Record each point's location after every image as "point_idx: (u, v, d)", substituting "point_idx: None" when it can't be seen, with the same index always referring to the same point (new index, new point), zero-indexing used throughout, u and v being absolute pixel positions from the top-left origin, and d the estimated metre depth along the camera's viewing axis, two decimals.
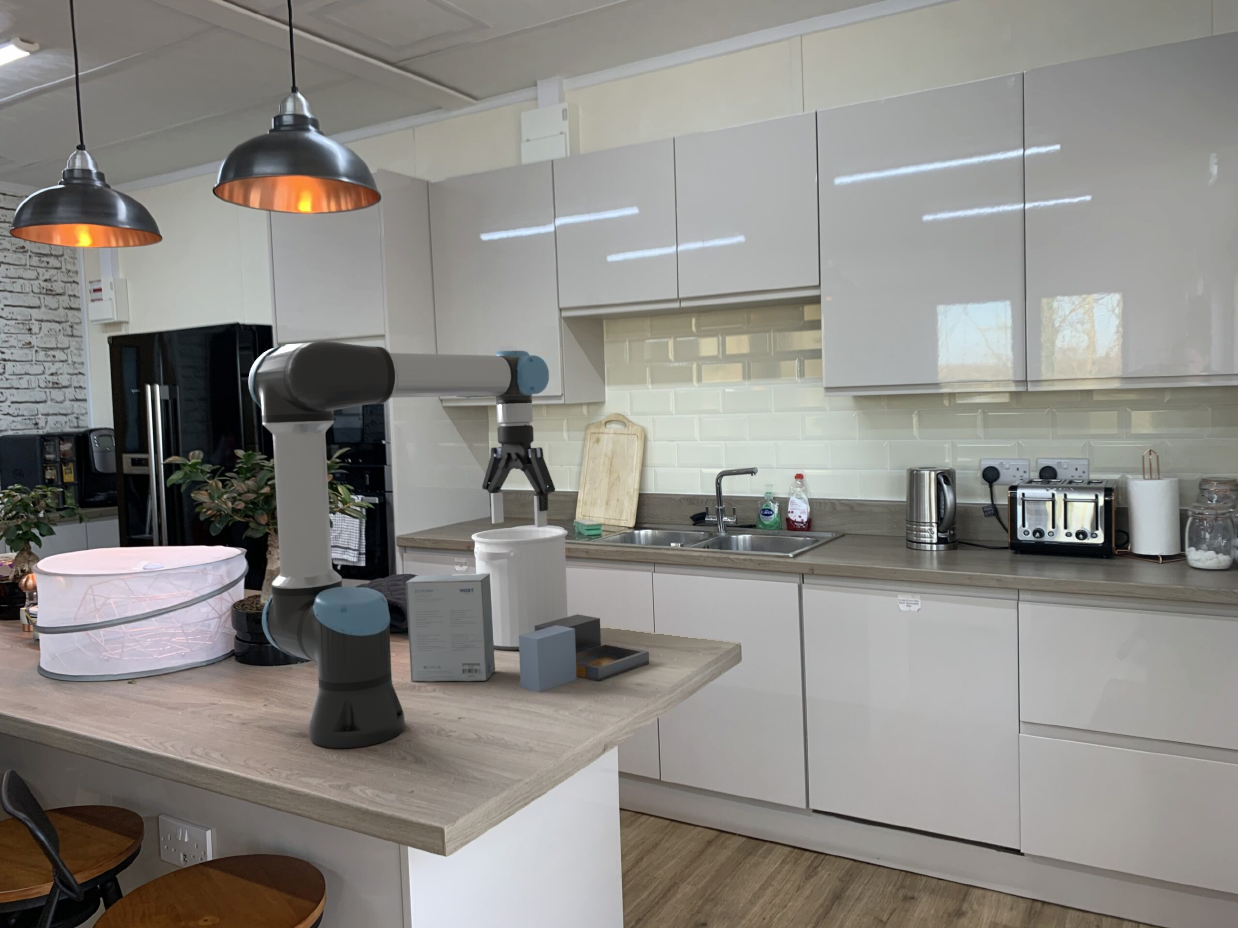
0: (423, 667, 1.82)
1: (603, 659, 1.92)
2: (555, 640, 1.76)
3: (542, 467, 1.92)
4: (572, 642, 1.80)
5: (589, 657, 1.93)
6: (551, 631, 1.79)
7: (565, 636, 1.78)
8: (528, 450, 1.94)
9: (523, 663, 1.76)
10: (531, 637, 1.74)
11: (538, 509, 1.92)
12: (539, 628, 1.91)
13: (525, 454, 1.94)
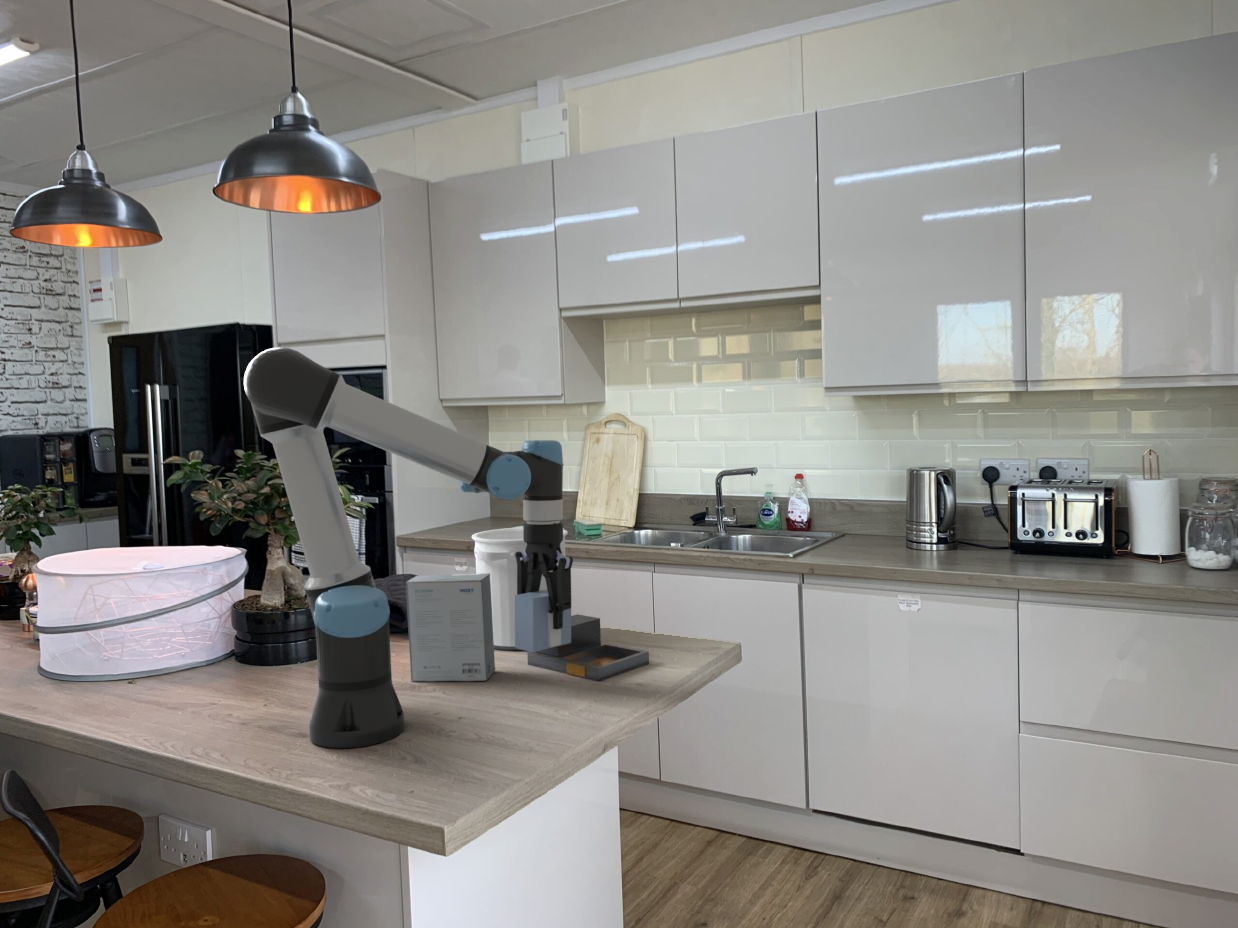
0: (423, 667, 1.82)
1: (603, 659, 1.92)
2: None
3: (566, 581, 1.73)
4: None
5: (589, 657, 1.93)
6: (547, 592, 1.78)
7: None
8: (557, 555, 1.74)
9: (518, 623, 1.75)
10: (527, 597, 1.74)
11: (552, 627, 1.75)
12: None
13: (553, 558, 1.74)
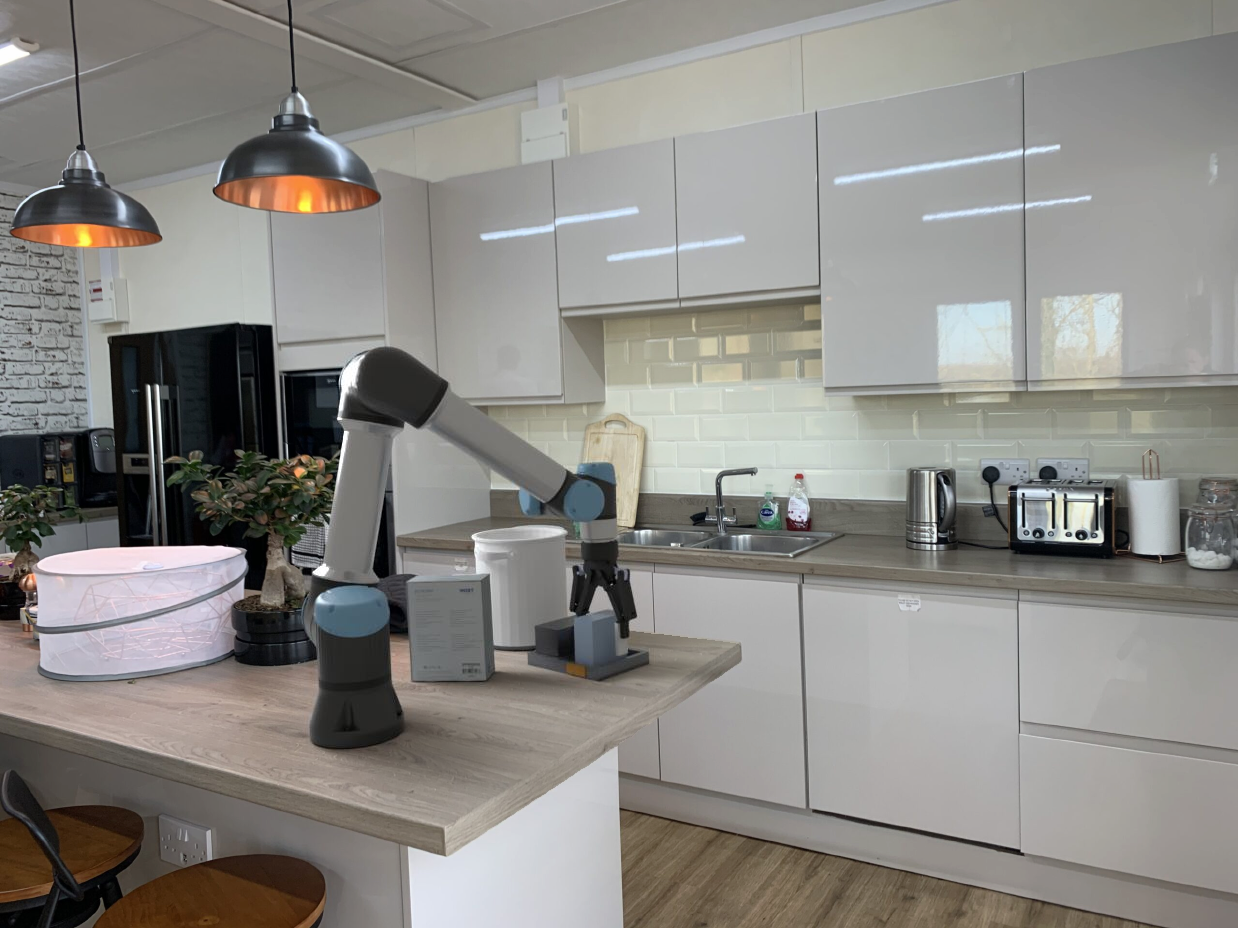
0: (423, 667, 1.82)
1: None
2: (608, 623, 1.86)
3: (627, 592, 1.82)
4: None
5: None
6: (604, 614, 1.88)
7: None
8: (615, 569, 1.84)
9: (578, 644, 1.85)
10: (586, 619, 1.84)
11: (619, 636, 1.83)
12: (539, 628, 1.91)
13: (611, 573, 1.84)
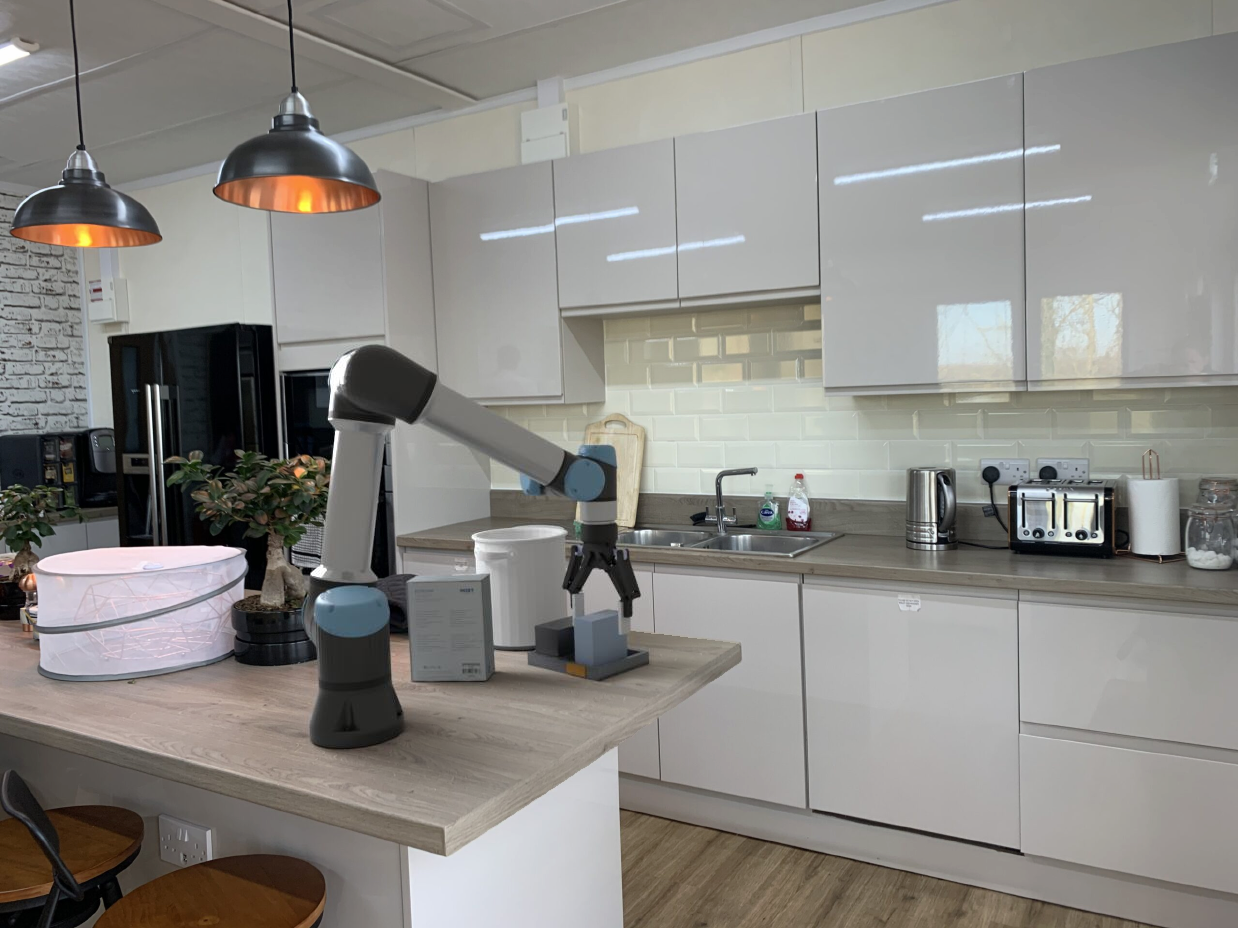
0: (423, 667, 1.82)
1: None
2: (608, 623, 1.86)
3: (628, 571, 1.82)
4: None
5: None
6: (604, 614, 1.88)
7: (617, 619, 1.88)
8: (614, 551, 1.83)
9: (578, 644, 1.85)
10: (586, 619, 1.84)
11: (622, 615, 1.82)
12: (539, 628, 1.91)
13: (610, 555, 1.83)
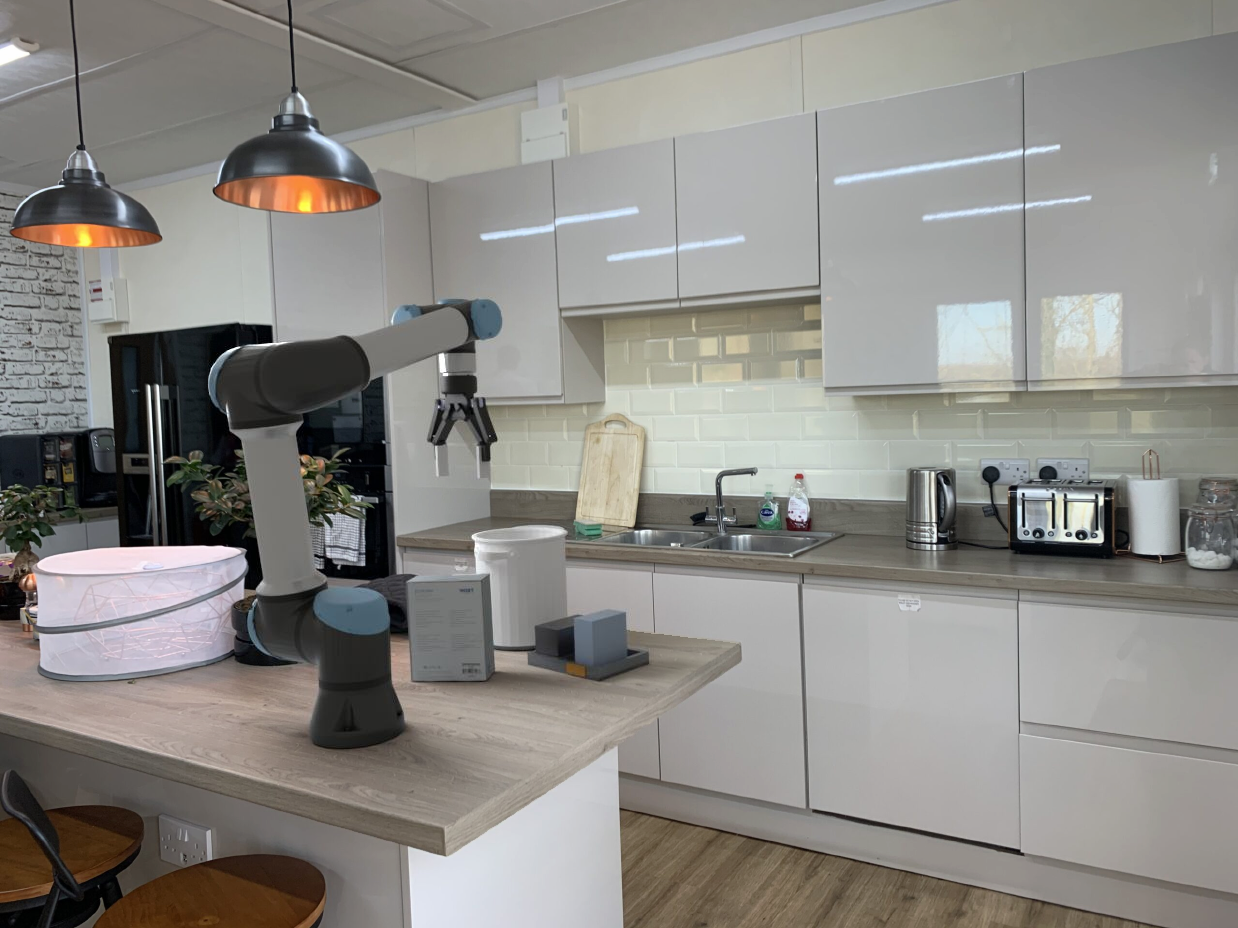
0: (423, 667, 1.82)
1: None
2: (608, 623, 1.86)
3: (484, 417, 1.89)
4: (623, 625, 1.89)
5: None
6: (604, 614, 1.88)
7: (617, 619, 1.88)
8: (471, 400, 1.91)
9: (578, 644, 1.85)
10: (586, 619, 1.84)
11: (480, 460, 1.89)
12: (539, 628, 1.91)
13: (468, 404, 1.91)
